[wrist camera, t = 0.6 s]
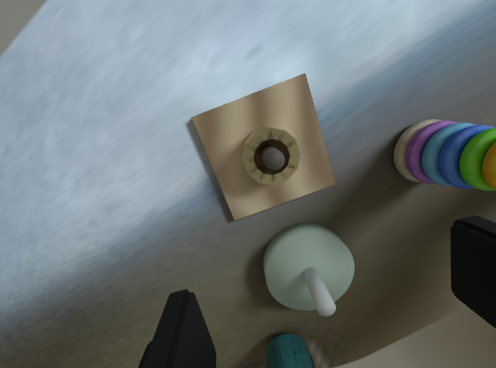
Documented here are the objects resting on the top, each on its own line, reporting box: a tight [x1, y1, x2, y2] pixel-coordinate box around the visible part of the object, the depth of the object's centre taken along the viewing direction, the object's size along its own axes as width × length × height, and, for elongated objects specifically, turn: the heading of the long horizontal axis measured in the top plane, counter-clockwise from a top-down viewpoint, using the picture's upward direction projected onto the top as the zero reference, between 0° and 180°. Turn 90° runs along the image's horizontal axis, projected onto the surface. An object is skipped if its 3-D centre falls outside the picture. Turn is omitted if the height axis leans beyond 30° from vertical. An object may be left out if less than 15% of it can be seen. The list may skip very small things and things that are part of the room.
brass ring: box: [242, 127, 301, 185], centre depth 26 cm, size 6×6×4 cm
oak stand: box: [191, 74, 335, 221], centre depth 26 cm, size 14×14×7 cm
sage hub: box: [263, 223, 354, 316], centre depth 29 cm, size 12×12×9 cm
